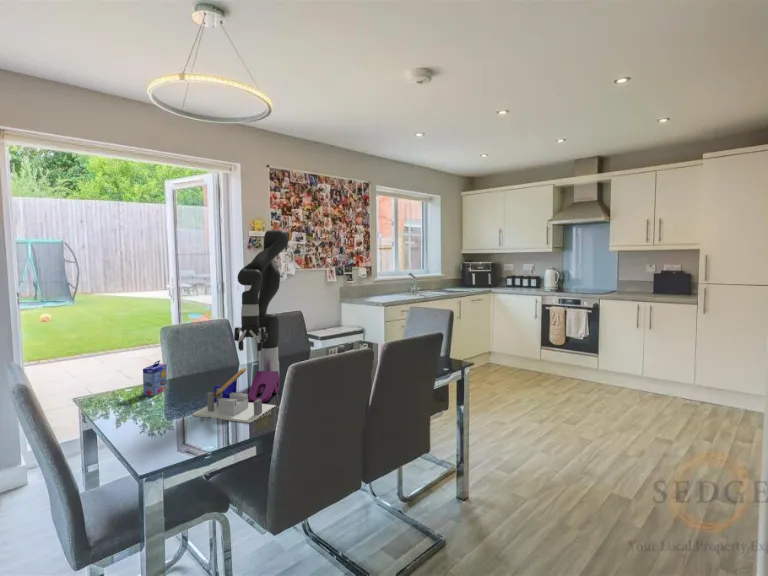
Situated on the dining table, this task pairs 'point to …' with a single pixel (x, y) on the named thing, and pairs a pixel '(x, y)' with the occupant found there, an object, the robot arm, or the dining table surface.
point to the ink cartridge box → (154, 379)
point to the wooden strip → (229, 382)
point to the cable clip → (227, 390)
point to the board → (237, 417)
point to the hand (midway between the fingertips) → (250, 350)
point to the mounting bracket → (264, 385)
